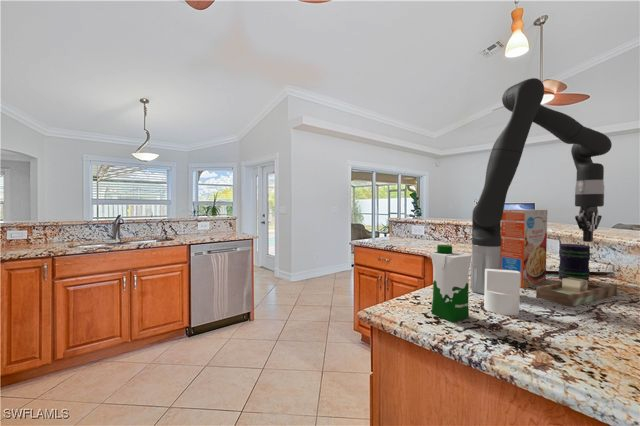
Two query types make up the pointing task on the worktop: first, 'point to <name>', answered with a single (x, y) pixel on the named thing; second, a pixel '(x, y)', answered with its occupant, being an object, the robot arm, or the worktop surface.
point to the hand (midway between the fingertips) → (587, 241)
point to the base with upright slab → (502, 291)
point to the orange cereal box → (524, 244)
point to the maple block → (574, 285)
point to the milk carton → (450, 284)
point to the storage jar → (574, 261)
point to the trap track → (574, 294)
